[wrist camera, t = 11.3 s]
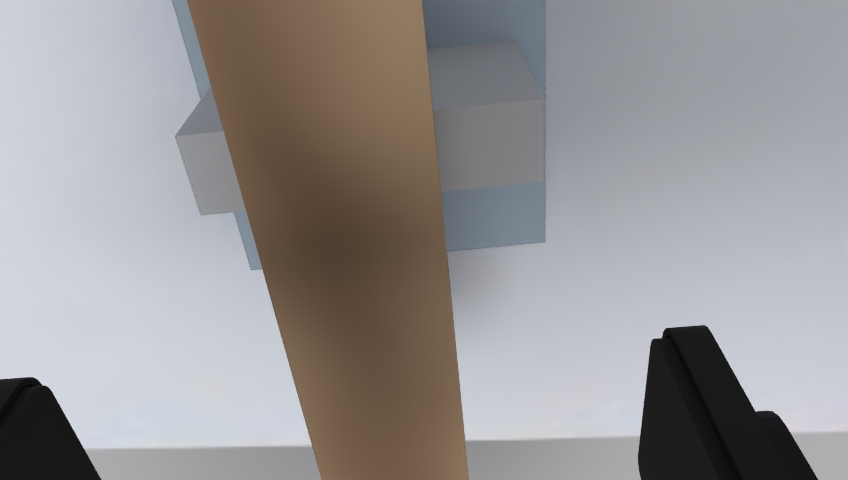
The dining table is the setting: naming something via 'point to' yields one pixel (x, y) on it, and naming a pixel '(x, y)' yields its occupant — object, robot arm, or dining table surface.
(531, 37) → the ridge stand
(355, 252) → the walnut batten
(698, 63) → the dining table surface
